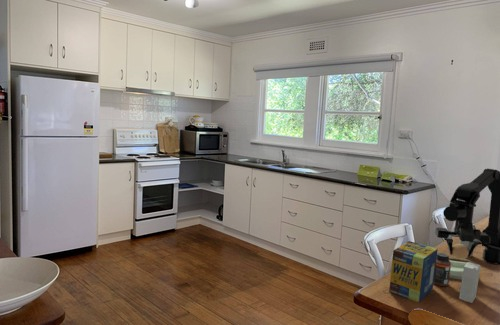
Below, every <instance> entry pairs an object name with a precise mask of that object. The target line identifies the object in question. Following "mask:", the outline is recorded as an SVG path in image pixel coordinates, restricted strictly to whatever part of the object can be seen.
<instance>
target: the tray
mask: <svg viewBox="0 0 500 325" xmlns="http://www.w3.org/2000/svg"><path fill="white" fill-rule="evenodd" d="M449 261H450V262H451V268H450V277H449V279H455V280H461V281H462V276H463V270H464V266H465V265H466V263H467V262H463V261H456V260H449ZM479 281H480V278H479V279H478V283H479Z"/></svg>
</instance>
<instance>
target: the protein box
mask: <svg viewBox="0 0 500 325" xmlns="http://www.w3.org/2000/svg"><path fill="white" fill-rule="evenodd" d="M437 253H438V248H436V247H432V246H429V245H425V244H421V243H418V242H414V241H410V240H409V241H406V242H405V243H403V244H402V245H400V246H398V247H397V248H394V249H393V251H392V259H391V260H392V261H391V270H390V279H389V290H388V291H389V293H392V294H394V295H396V296H400V297H403V298H406V299H408V300H411V301H413V302H416V303H420V302H421V301H422V300H423V299H424V298H425V297H426V296H427V295H428V294H430V293H431V292H432V290H433V289H434V275H435V267H436V259H437Z"/></svg>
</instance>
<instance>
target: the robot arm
mask: <svg viewBox="0 0 500 325" xmlns="http://www.w3.org/2000/svg"><path fill="white" fill-rule="evenodd" d="M485 188H488V190H489V191H490V194H491V196H490V204H489V215H488V222H487V223H488V225H487V226H486V227H485V228H484V229H482V231H481V229H478V228H476V229H473V227H472V226H473V224H474V223H473V219H474V211H475V210H474V209H475V207H477V204H476V203H477V202H478V200H479V198H480V197H481V192H482V191H484V189H485ZM443 217H444V219H446V220H447V221H450V222H454V228H453V231H452V230H451V231H450V230H448V229H447V227H436V228H435V231H434V235H435V236H436V238H438V239H443V240H444V241H445V242H446V244H447V248H448V252H449V256H453V254H452V247H453V243H454V239H453V237H455V238H459V239H460V240H461V241H469V246H468V251H469V254H468V257H467V258H471V257H470V255H471V253H472V252H473V253H474V250H475V248H476V247H477V246H478V245H481V246H482V247H484V249H483V251H482V259H483V261H485V263H486V264H493V265H500V170H497V169H494V168H485V169H484V170H483V171H482V172H481V173H480V174H479V175H477V176H476V178H474V179H473V180H472V181H470V182H468V183H463V184H461V185H459V186H458V187H457V188H456V189H455V191H454V193H453V195H452V197H451V199H450V201H449V206H446V207H445V208H444V209H443Z"/></svg>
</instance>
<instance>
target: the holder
mask: <svg viewBox="0 0 500 325" xmlns="http://www.w3.org/2000/svg"><path fill="white" fill-rule="evenodd" d="M449 260H450V261H457V262H465V263H467V262H470V263H473V262H472V260H470V259H457V258H456V257H449Z"/></svg>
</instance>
